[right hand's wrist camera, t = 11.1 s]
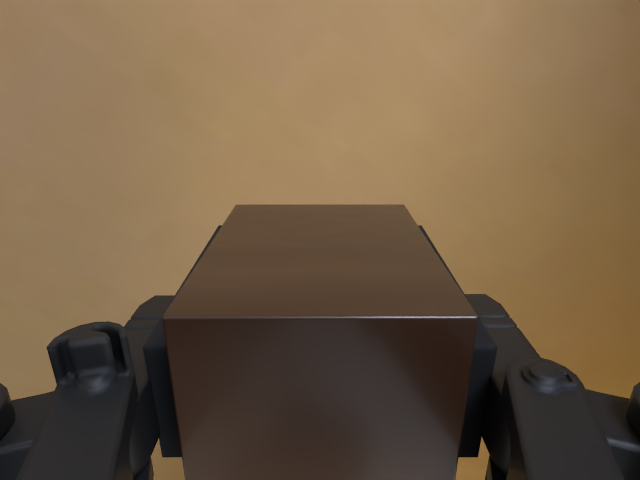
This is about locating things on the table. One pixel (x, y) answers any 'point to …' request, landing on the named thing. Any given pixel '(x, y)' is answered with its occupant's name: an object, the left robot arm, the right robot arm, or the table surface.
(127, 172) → the table surface
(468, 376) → the walnut beam
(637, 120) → the table surface
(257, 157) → the table surface
